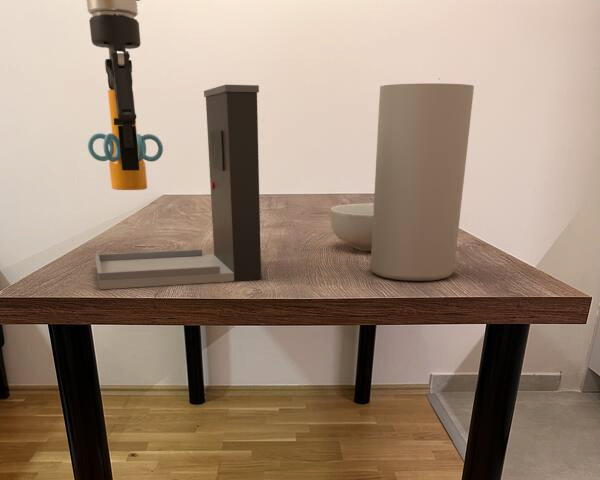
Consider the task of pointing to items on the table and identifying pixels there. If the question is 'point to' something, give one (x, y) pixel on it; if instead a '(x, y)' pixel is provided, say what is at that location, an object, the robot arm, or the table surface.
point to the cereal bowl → (354, 224)
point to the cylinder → (119, 176)
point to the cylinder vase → (419, 179)
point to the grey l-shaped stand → (225, 207)
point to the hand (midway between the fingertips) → (128, 168)
